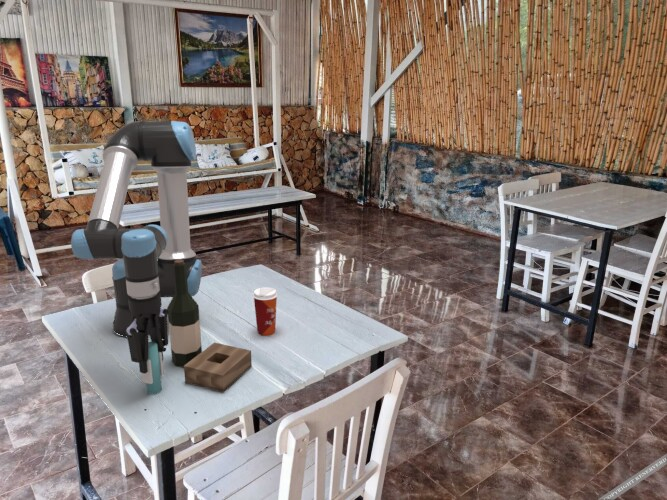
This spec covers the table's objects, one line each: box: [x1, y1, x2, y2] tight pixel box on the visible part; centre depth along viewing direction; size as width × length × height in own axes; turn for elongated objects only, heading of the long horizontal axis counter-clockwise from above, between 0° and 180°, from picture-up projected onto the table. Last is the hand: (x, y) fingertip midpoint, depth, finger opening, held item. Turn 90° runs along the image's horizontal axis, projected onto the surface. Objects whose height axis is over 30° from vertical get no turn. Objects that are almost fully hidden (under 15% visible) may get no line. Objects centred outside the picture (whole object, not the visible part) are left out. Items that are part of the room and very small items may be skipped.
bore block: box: [183, 342, 253, 394], centre depth 142 cm, size 12×14×5 cm
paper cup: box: [252, 286, 279, 337], centre depth 165 cm, size 8×8×14 cm
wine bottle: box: [166, 260, 203, 368], centre depth 146 cm, size 8×8×30 cm
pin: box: [145, 341, 163, 395], centre depth 134 cm, size 4×4×13 cm
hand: (153, 378), depth 134 cm, fingers closed on pin, 3 cm apart
